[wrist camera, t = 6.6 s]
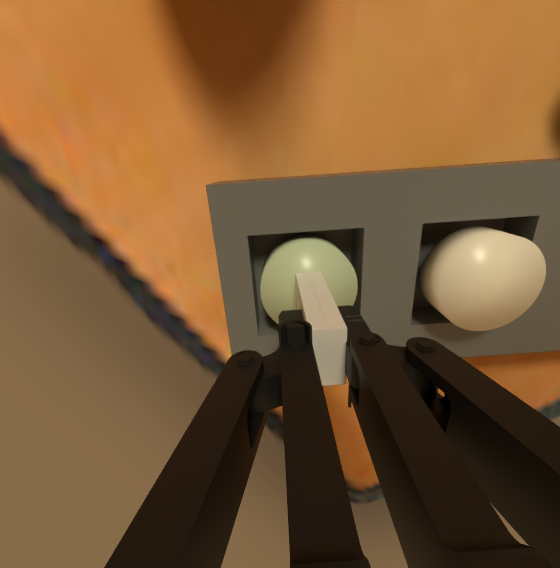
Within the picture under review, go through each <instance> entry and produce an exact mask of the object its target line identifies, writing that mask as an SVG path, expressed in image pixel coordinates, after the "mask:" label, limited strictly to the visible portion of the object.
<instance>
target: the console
mask: <svg viewBox="0 0 560 568" xmlns="http://www.w3.org/2000/svg"><path fill="white" fill-rule="evenodd" d="M206 189H207V196H208V202H209V209H210V215H211V222H212V229H213V235H214V242H215V248H216V255H217V261H218V268H219V274H220V281H221V287H222V294H223V301H224V307H225V314H226V320H227V327H228V333H229V340H230V346H231V353H232V355H234V354H235V353H237V352H240V351H244V350H253V351H257V352H258V353H260V354H261V355H262V357H263V356H266V355H269V354H271V353H273V352H275V351H276V350H277V349H278V347H279V334H278V327H279V324H277V323H276V322H275V321H274V320H273V319H272V318H271V317H270V316H269V315H268V313H267V312H266V310H265V308H264V306H263V303H262V300H261V294H260V287H261V276H262V268H263V264H264V262H265V259H266V257H267V256H268V254H269V253H270V251H271V250H272V249H273V248H274V247H275V246H276V245H277V244H278V243H280V242H281V241H283V240H285V239H286V238H289V237H291V236H295V235H300V234H313V235H318V236H321V237H324V238H326V239H328V240H330V241H331V242H332V243H334V244H335V245H336V246H337V247H338V248H339V249H340V250H341V252H342V253H343V254H344V255H345V256H346V258H347V259H348V260H349V262H350V263H351V264H352V266H353V268H354V270H355V273H356V276H357V283H358V289H357V295H356V299H355V302H354V304H353V307H355V308H356V309H358V311H359V312H360V314H361V316H362V317H363V319H364V321H365V322H366V324H367V325H368V327H369V329H370V330H371V332H372V333H376V334H378V335H380V336H381V337H382V338H383V339H384V341H385V342H386V344H388V345H394V346H402V347H406V342H407V341H408V339H411V338H414V337H425V338H429V339H432V340H435V341H437V342H439V343H440V344H442V345H443V346H445V347H446V348H447V349H449V350H450V351H452V352H453V353H455V354H456V355H457V356H459V357H460V358H462V357H477V356H491V355H505V354H519V353H534V352H548V351H560V158H554V159H540V160H525V161H511V162H496V163H482V164H468V165H453V166H439V167H424V168H410V169H396V170H381V171H367V172H352V173H338V174H324V175H309V176H295V177H280V178H266V179H252V180H237V181H223V182H216V183H212V184H209V185H206ZM473 226H482V227H488V228H491V229H495V230H498V231H502V232H506V233H509V234H513V235H516V236H520V237H523V238H526V239H528V240H530V241H531V242H533V243H534V244H535V245H536V246H537V247H538V248H539V249H540V250H541V252H542V254H543V256H544V259H545V263H546V277H545V281H544V284H543V287H542V290H541V291H540V293H539V295H538V297H537V298H536V300H535V301H534V303H533V304H532V305H531V306H530V307H529V308H528V309H527V310H526V311H525V312H524V313H523V314H522V315H521V316H519V317H518V318H516V319H515V320H513V321H512V322H510V323H508V324H506V325H504V326H502V327H499V328H496V329H492V330H487V331H470V330H466V329H463V328H460V327H458V326H456V325H454V324H453V323H452V322H451V321H450V320H448V319H447V318H446V317H445V316H444V315H443V314H441V313H440V312H439V311H438V310H437V309H436V308H434V307H433V306H432V305H431V304H430V303H429V302H428V301H427V300H426V299H425V297H424V295H423V293H422V291H421V287H420V273H421V269H422V266H423V263H424V261H425V259H426V257H427V255H428V254H429V252H430V251H431V250H432V248H433V247H434V246H435V245H436V244H437V243H438V242H439V241H441V240H442V239H443V238H444V237H446V236H447V235H449V234H451V233H453V232H455V231H457V230H460V229H463V228H466V227H473Z"/></svg>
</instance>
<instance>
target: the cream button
mask: <svg viewBox="0 0 560 568" xmlns="http://www.w3.org/2000/svg"><path fill="white" fill-rule="evenodd" d="M545 277H546V263H545V259H544V256H543V254H542V252H541V250H540V249H539V248H538V247H537V246H536V245H535V244H534V243H533V242H531V241H530V240H528V239H526V238H523V237H520V236H516V235H513V234H509V233H506V232H502V231H498V230H495V229H491V228H488V227H482V226H473V227H466V228H463V229H460V230H457V231H455V232H453V233H451V234H449V235H447V236H446V237H444V238H443V239H442V240H441V241H439V242H438V243H437V244H436V245H435V246H434V247H433V248H432V250H431V251H430V252H429V254H428V255H427V257H426V259H425V261H424V263H423V266H422V269H421V273H420V287H421V291H422V293H423V295H424V297H425V299H426V300H427V301H428V302H429V303H430V304H431V305H432V306H433V307H434V308H436V309H437V310H438V311H439V312H440V313H441V314H443V315H444V316H445V317H446V318H447V319H448V320H450V321H451V322H452V323H453V324H454V325H456V326H458V327H460V328H463V329H466V330H470V331H487V330H492V329H496V328H499V327H502V326H504V325H506V324H508V323H510V322H512V321H513V320H515V319H516V318H518V317H519V316H521V315H522V314H523V313H524V312H525V311H526V310H527V309H528V308H529V307H530V306H531V305H532V304H533V303H534V301H535V300H536V298H537V297H538V295H539V293H540V291H541V290H542V287H543V284H544V281H545Z"/></svg>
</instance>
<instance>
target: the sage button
mask: <svg viewBox="0 0 560 568" xmlns="http://www.w3.org/2000/svg"><path fill="white" fill-rule="evenodd" d="M308 272H321V274H322V276H323V278H324V280H325V282H326V284H327V286H328V289H329V291H330V293H331V295H332V297H333V299H334V301H335V303H336V305H337V306H346V305H351V306H353V304H354V302H355V299H356V295H357V289H358V283H357V276H356V273H355V270H354V268H353V266H352V264H351V263H350V262H349V260H348V259H347V258H346V256H345V255H344V254H343V253H342V252H341V250H340V249H339V248H338V247H337V246H336V245H335V244H334V243H332V242H331V241H330V240H328V239H326V238H324V237H321V236H318V235H313V234H300V235H295V236H291V237H289V238H286V239H285V240H283V241H281V242H280V243H278V244H277V245H276V246H275V247H274V248H273V249H272V250H271V251H270V253H269V254H268V256H267V257H266V259H265V262H264V264H263V268H262V276H261V287H260V294H261V300H262V303H263V306H264V308H265V310H266V312H267V313H268V315H269V316H270V317H271V318H272V319H273V320H274V321H275V322H276V323H277V324H279V319H278V316H279V314H280V313H281V312H282V311H286V310H297V293H296V273H308Z"/></svg>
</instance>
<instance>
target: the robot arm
mask: <svg viewBox="0 0 560 568" xmlns="http://www.w3.org/2000/svg"><path fill="white" fill-rule="evenodd" d="M296 293H297V310H286V311H282V312H281V313H280V314H279V316H278V319H279V327H278V334H279V347H278V349H277V350H276V351H275V352H273V353H271V354H269V355H266V356H263V357H262V355H261V354H260V353H258V352H257V351H253V350H244V351H240V352H237V353H235V354H234V355H232V356H231V357H230V358H229V360H228V361H227V363H226V365H225V366H224V368H223V370H222V371H221V373H220V375H219V376H218V378H217V380H216V381H215V384H214V385H213V387H212V388H211V390H210V392H209V393H208V395H207V397H206V398H205V400H204V402H203V403H202V405H201V407H200V408H199V410H198V412H197V413H196V415H195V417H194V418H193V420H192V422H191V423H190V425H189V427H188V429H187V430H186V432H185V434H184V435H183V437H182V439H181V440H180V442H179V444H178V445H177V447H176V448H175V450H174V452H173V453H172V455H171V457H170V459H169V460H168V462H167V464H166V465H165V467H164V469H163V470H162V472H161V474H160V475H159V477H158V479H157V480H156V482H155V484H154V485H153V487H152V489H151V490H150V492H149V494H148V495H147V497H146V499H145V500H144V502H143V504H142V505H141V507H140V509H139V510H138V512H137V514H136V515H135V517H134V519H133V521H132V522H131V524H130V525H129V527H128V529H127V530H126V532H125V534H124V536H123V537H122V539H121V541H120V542H119V544H118V546H117V547H116V549H115V551H114V552H113V554H112V556H111V557H110V559H109V561H108V563H107V564H106V566H105V567H104V568H221V564H222V561H223V558H224V555H225V552H226V549H227V545H228V542H229V539H230V536H231V532H232V529H233V526H234V523H235V519H236V516H237V513H238V510H239V507H240V503H241V500H242V497H243V494H244V490H245V487H246V484H247V481H248V478H249V474H250V471H251V468H252V465H253V461H254V458H255V455H256V452H257V448H258V445H259V442H260V438H261V436H262V433H263V429H264V426H265V423H266V420H267V416H268V410H271V409H273V408H276V407H279V406H283V426H284V446H285V462H286V463H285V464H286V484H287V505H288V524H289V543H290V568H371V567H370V564H369V561H368V559H367V558H366V557H365V556H364V555H363V552H362V550H361V546H360V542H359V538H358V534H357V530H356V525H355V522H354V517H353V513H352V509H351V504H350V500H349V496H348V492H347V488H346V483H345V479H344V475H343V471H342V467H341V462H340V458H339V454H338V450H337V446H336V441H335V437H334V433H333V429H332V425H331V420H330V416H329V412H328V408H327V404H326V399H325V395H324V391H323V387H322V386H327V385H341V384H346V375H347V378H348V381H349V393H348V407H351V402H352V403H353V406H354V409H355V412H356V415H357V418H358V421H359V424H360V427H361V430H362V433H363V436H364V439H365V442H366V445H367V447H368V450H369V453H370V456H371V459H372V462H373V465H374V468H375V471H376V474H377V477H378V480H379V483H380V486H381V488H382V491H383V494H384V497H385V500H386V503H387V506H388V509H389V512H390V515H391V518H392V521H393V524H394V527H395V529H396V532H397V535H398V538H399V541H400V544H401V547H402V550H403V553H404V556H405V559H406V562H407V564H408V568H560V427H559V426H558V425H556V424H555V423H553V422H552V421H551V420H549V419H548V418H546V417H545V416H543V415H542V414H541V413H539V412H538V411H536V410H535V409H533V408H532V407H530V406H529V405H528V404H526V403H525V402H523V401H522V400H520V399H519V398H518V397H516V396H515V395H513V394H512V393H510V392H509V391H508V390H506V389H505V388H503V387H502V386H500V385H499V384H498V383H496V382H495V381H493V380H492V379H490V378H489V377H488V376H486V375H485V374H483V373H482V372H480V371H479V370H478V369H476V368H475V367H473V366H472V365H470V364H469V363H467V362H466V361H465V360H463V359H462V358H460V357H459V356H457V355H456V354H455V353H453V352H452V351H450V350H449V349H447V348H446V347H445V346H443V345H442V344H440V343H439V342H437V341H435V340H432V339H429V338H425V337H414V338H411V339H408V341H407V342H406V347H402V346H394V345H388V344H386V342H385V341H384V339H383V338H382V337H381V336H380V335H378V334H376V333H372V332H371V330H370V329H369V327H368V325H367V324H366V322H365V321H364V319H363V317H362V316H361V314H360V312H359V311H358V309H356V308H355V307H353V306H351V305H346V306H337V305H336V303H335V301H334V299H333V297H332V295H331V293H330V291H329V289H328V286H327V284H326V282H325V280H324V278H323V276H322V274H321V272H308V273H296ZM438 388H439V389H440V390H442V391H443V392H444V393H445V396H444V397H443V396H441V395H440V394H439V393H438ZM490 503H491V504H492V505H493V506H494V507H495V508H496V509H497V510H498V512H499V513H500V514H501V515H502V516H503V517H504V518H505V519H506V520H507V522H508V523H509V524H510V525H511V526H512V527H513V528H514V530H515V531H516V532H517V533H518V534H519V535H520V536H521V537H522V539H523V540H525V542H526V543H527V544H528V545H529V546H527V545H524V544H520V543H519V542H518V541H516V540H515V539H514V538H513V536H512V535H511V534H510V533H509V531H508V530H507V528H506V527H505V525H504V524H503V522H502V520H501V519H500V518H499V516H498V514H497V513H496V511H495V510H494V508H493V507H492V505H491V504H490Z"/></svg>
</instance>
